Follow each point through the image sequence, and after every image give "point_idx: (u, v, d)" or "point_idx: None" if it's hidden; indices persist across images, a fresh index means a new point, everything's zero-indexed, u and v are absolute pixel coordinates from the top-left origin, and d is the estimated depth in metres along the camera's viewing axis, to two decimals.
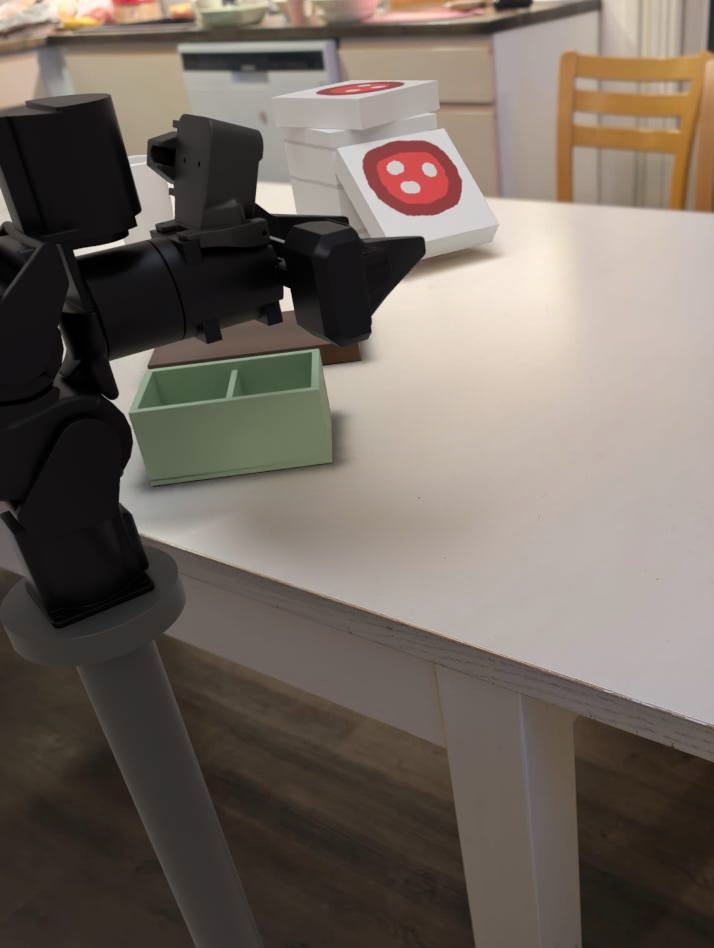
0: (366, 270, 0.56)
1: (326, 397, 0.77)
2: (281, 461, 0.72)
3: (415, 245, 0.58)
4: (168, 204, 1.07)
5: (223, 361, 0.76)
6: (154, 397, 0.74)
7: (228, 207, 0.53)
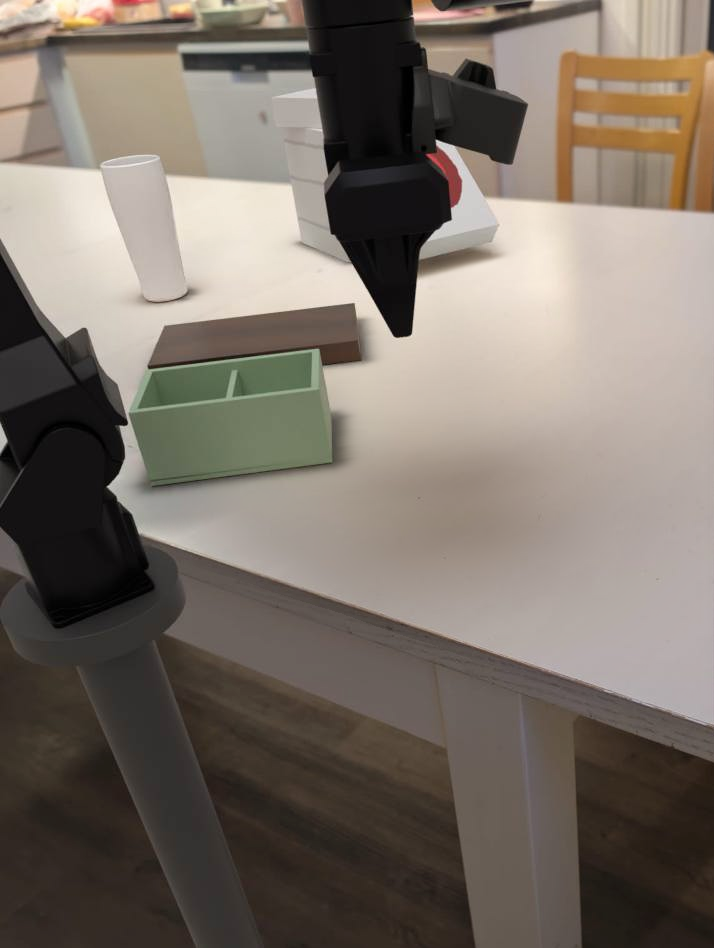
0: (388, 253, 0.52)
1: (326, 397, 0.77)
2: (281, 461, 0.72)
3: (405, 322, 0.55)
4: (168, 204, 1.07)
5: (223, 361, 0.76)
6: (154, 397, 0.74)
7: (450, 108, 0.50)
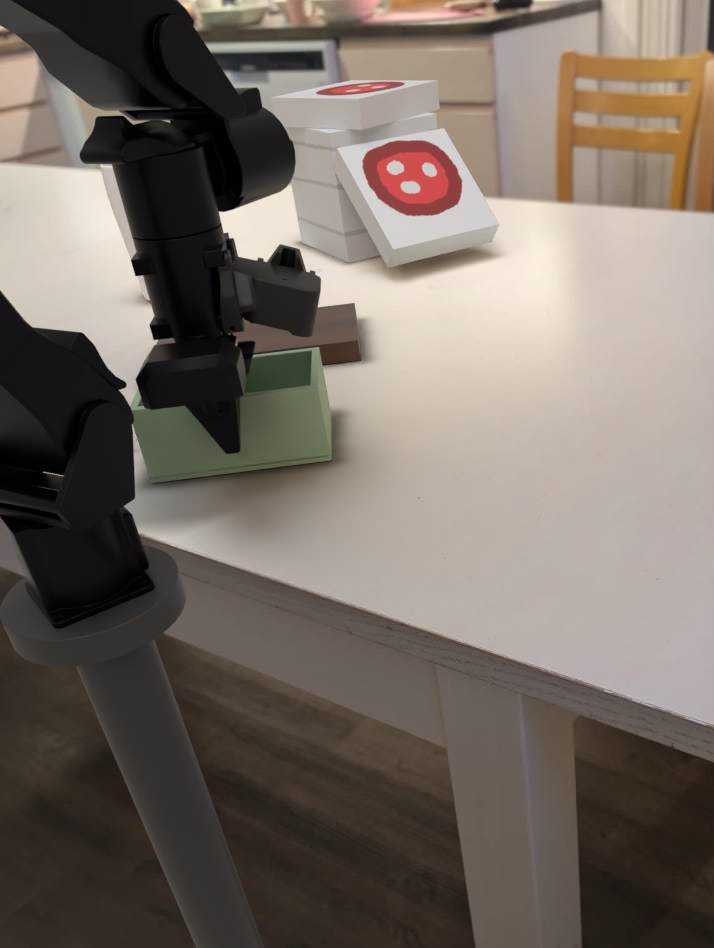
0: None
1: (326, 395, 0.77)
2: (280, 458, 0.72)
3: (233, 443, 0.69)
4: None
5: None
6: None
7: (252, 297, 0.61)
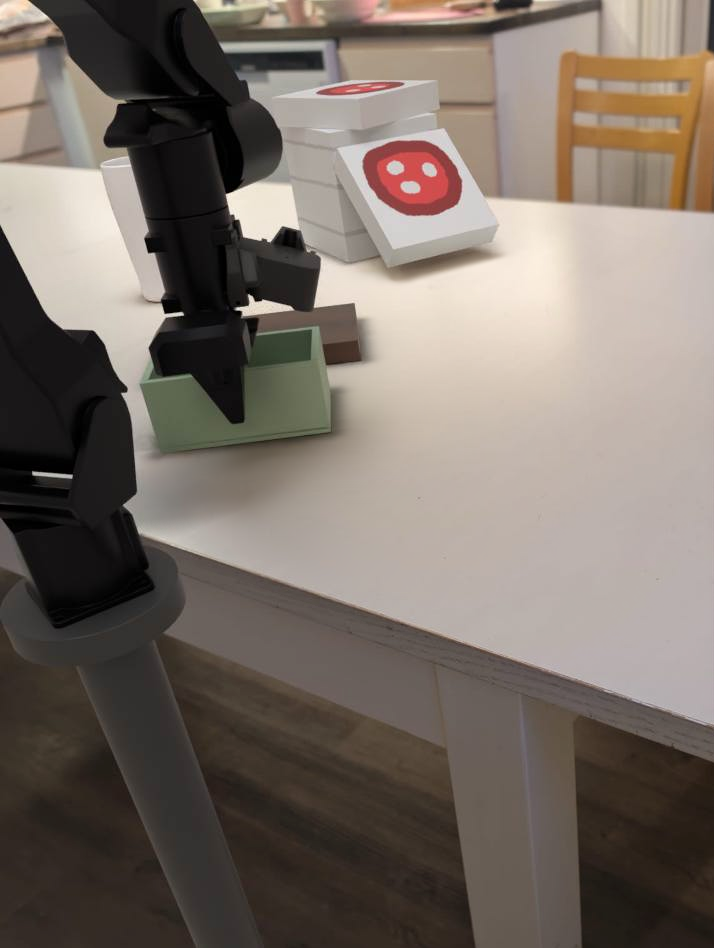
0: None
1: (325, 372, 0.81)
2: (282, 430, 0.77)
3: (237, 413, 0.73)
4: None
5: None
6: None
7: (256, 274, 0.65)
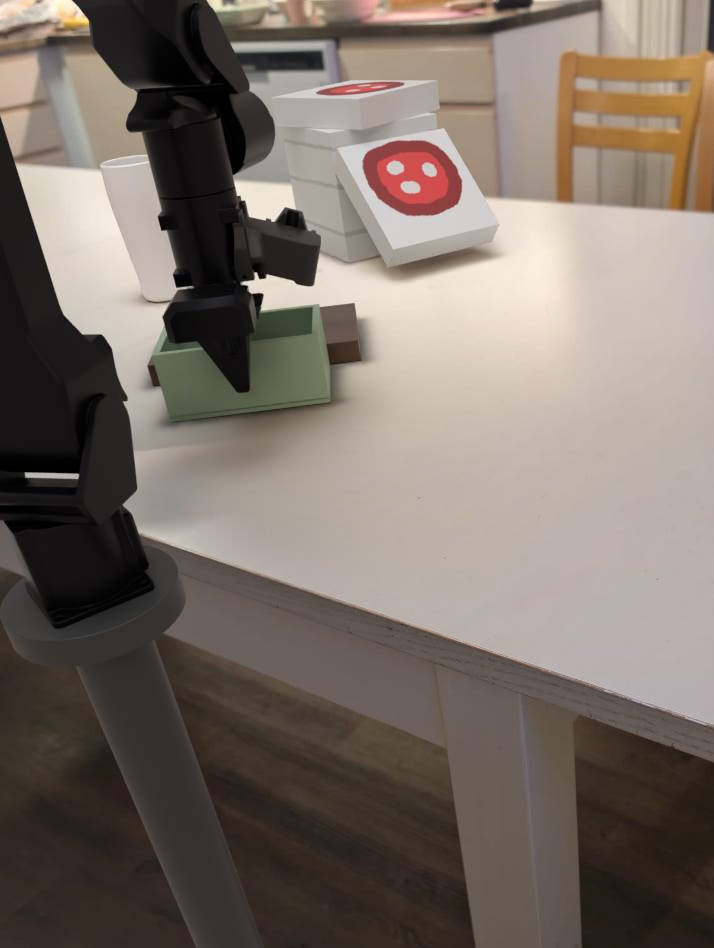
0: None
1: (325, 347, 0.87)
2: (285, 400, 0.82)
3: (243, 382, 0.78)
4: None
5: None
6: (173, 345, 0.84)
7: (261, 250, 0.71)
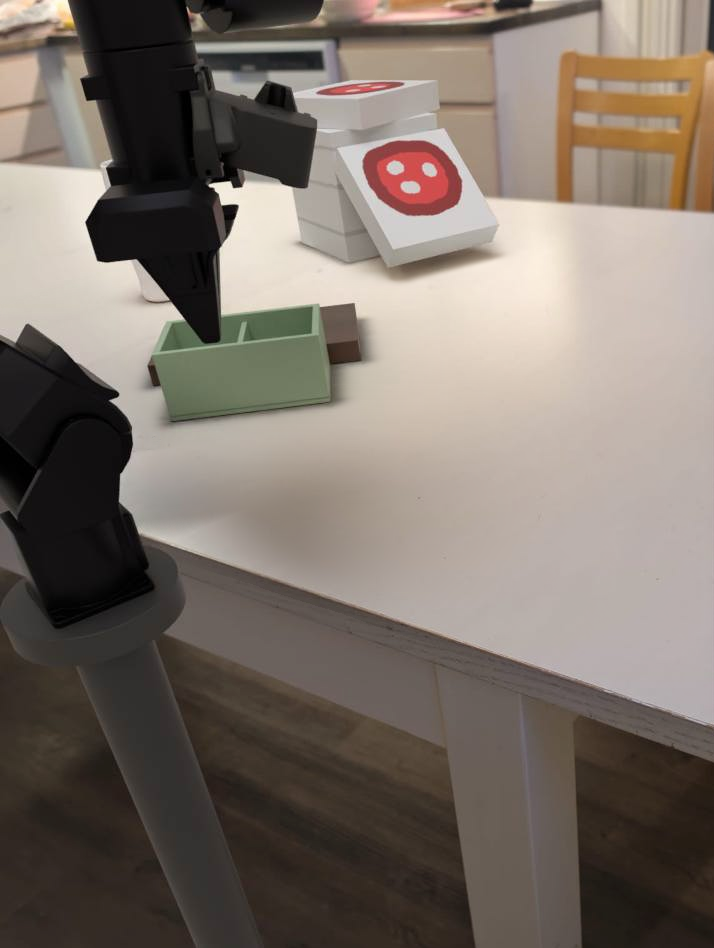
0: (185, 262, 0.54)
1: (325, 346, 0.87)
2: (285, 400, 0.82)
3: (211, 329, 0.57)
4: None
5: (234, 314, 0.86)
6: (173, 345, 0.84)
7: (232, 133, 0.49)
